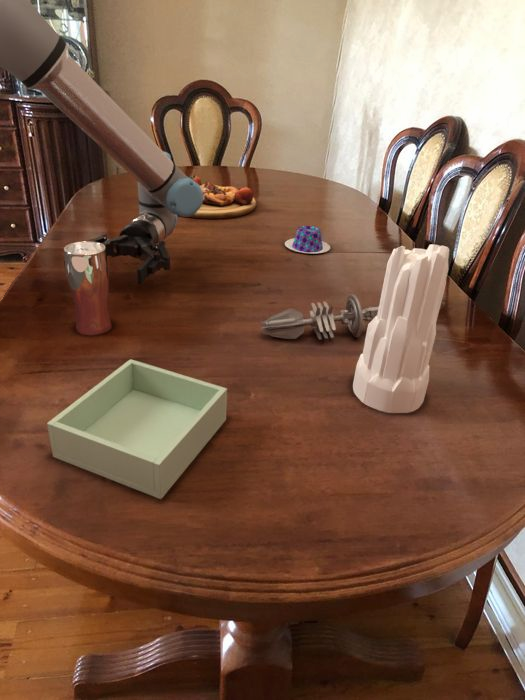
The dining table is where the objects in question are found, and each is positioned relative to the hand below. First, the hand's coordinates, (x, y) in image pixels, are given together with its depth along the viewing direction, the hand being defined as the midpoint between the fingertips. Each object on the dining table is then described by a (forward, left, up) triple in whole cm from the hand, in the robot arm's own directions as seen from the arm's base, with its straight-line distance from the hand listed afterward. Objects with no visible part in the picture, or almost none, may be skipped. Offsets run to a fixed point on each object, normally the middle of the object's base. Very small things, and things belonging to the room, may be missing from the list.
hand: (102, 272), depth 95 cm
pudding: (+21, +56, -9) cm, 61 cm away
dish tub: (+27, -27, -8) cm, 38 cm away
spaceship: (+44, +15, -9) cm, 47 cm away
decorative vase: (+54, -1, -9) cm, 54 cm away
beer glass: (+2, -6, -9) cm, 10 cm away
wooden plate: (-20, +76, -9) cm, 80 cm away
